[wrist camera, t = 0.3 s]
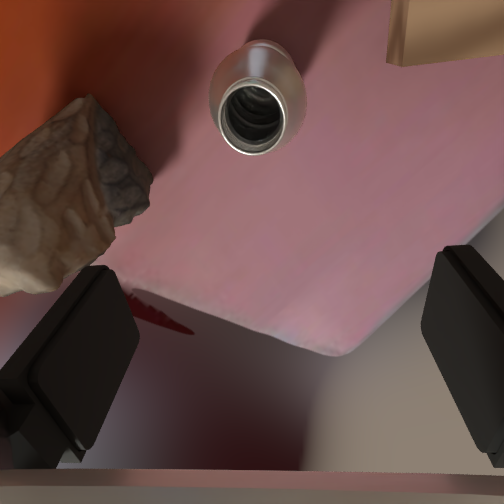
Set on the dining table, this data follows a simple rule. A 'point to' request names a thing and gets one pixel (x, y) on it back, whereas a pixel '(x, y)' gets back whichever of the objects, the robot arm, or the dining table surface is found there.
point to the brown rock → (66, 197)
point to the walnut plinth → (444, 30)
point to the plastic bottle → (257, 98)
